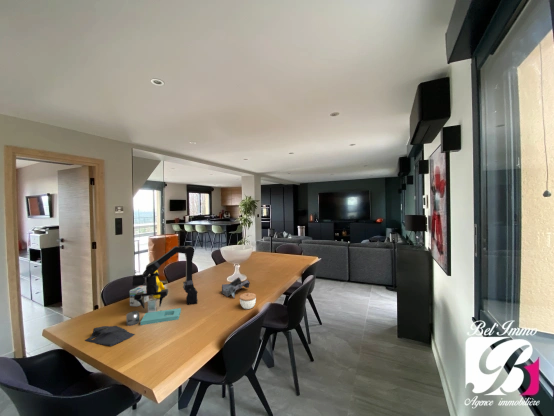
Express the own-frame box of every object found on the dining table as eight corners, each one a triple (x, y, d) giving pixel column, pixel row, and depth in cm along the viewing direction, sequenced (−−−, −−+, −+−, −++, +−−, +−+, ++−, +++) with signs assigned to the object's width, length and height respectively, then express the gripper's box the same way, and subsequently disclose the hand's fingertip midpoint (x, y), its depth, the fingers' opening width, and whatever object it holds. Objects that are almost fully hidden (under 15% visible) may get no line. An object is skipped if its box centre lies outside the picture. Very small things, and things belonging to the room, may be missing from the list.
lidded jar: (259, 307, 148) (259, 292, 148) (247, 313, 141) (246, 298, 140) (249, 302, 156) (248, 289, 156) (236, 308, 148) (236, 293, 148)
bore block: (180, 311, 145) (180, 307, 145) (178, 320, 134) (178, 315, 134) (145, 316, 139) (145, 312, 139) (140, 325, 128) (140, 321, 128)
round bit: (141, 320, 135) (140, 310, 135) (137, 325, 129) (137, 315, 129) (128, 321, 134) (128, 311, 134) (124, 327, 127) (124, 316, 127)
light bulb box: (137, 306, 154) (137, 291, 154) (129, 306, 155) (128, 290, 155) (149, 300, 164) (149, 285, 164) (141, 299, 166) (141, 285, 166)
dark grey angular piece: (219, 293, 175) (218, 281, 174) (240, 286, 188) (240, 275, 188) (231, 300, 161) (231, 287, 161) (254, 292, 175) (253, 280, 175)
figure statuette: (170, 297, 168) (169, 268, 168) (161, 301, 161) (160, 271, 161) (155, 293, 177) (155, 265, 176) (146, 297, 170) (145, 268, 170)
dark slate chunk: (106, 353, 106) (106, 342, 106) (82, 341, 116) (82, 332, 116) (138, 335, 120) (138, 326, 120) (114, 326, 129) (114, 318, 129)
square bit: (156, 309, 148) (156, 297, 148) (154, 312, 144) (154, 300, 144) (149, 310, 147) (149, 298, 147) (147, 313, 143) (147, 301, 143)
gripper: (169, 278, 156) (170, 300, 156) (138, 281, 151) (139, 304, 151) (166, 283, 145) (167, 307, 146) (133, 286, 140) (134, 311, 140)
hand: (152, 307), depth 146 cm, fingers open, 9 cm apart
